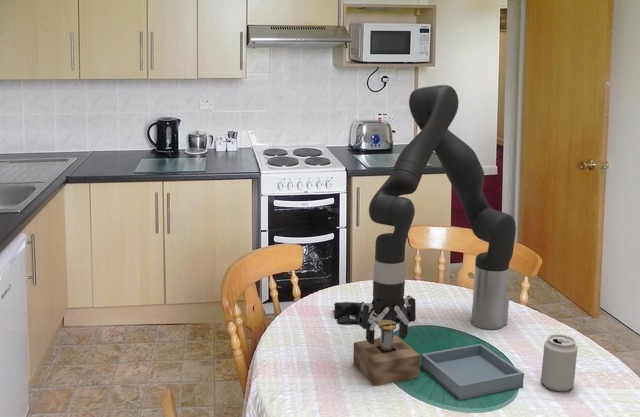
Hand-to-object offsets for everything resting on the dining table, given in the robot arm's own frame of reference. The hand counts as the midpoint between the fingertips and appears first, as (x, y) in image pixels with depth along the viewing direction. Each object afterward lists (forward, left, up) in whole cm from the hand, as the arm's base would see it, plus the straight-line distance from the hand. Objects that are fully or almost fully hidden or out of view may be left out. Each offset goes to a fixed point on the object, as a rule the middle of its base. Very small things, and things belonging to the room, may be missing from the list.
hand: (386, 340), depth 178 cm
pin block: (0, 0, -8) cm, 8 cm away
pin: (0, 0, -8) cm, 8 cm away
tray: (-18, +10, -8) cm, 22 cm away
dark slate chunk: (-12, -33, -9) cm, 37 cm away
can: (-35, +21, -8) cm, 42 cm away
